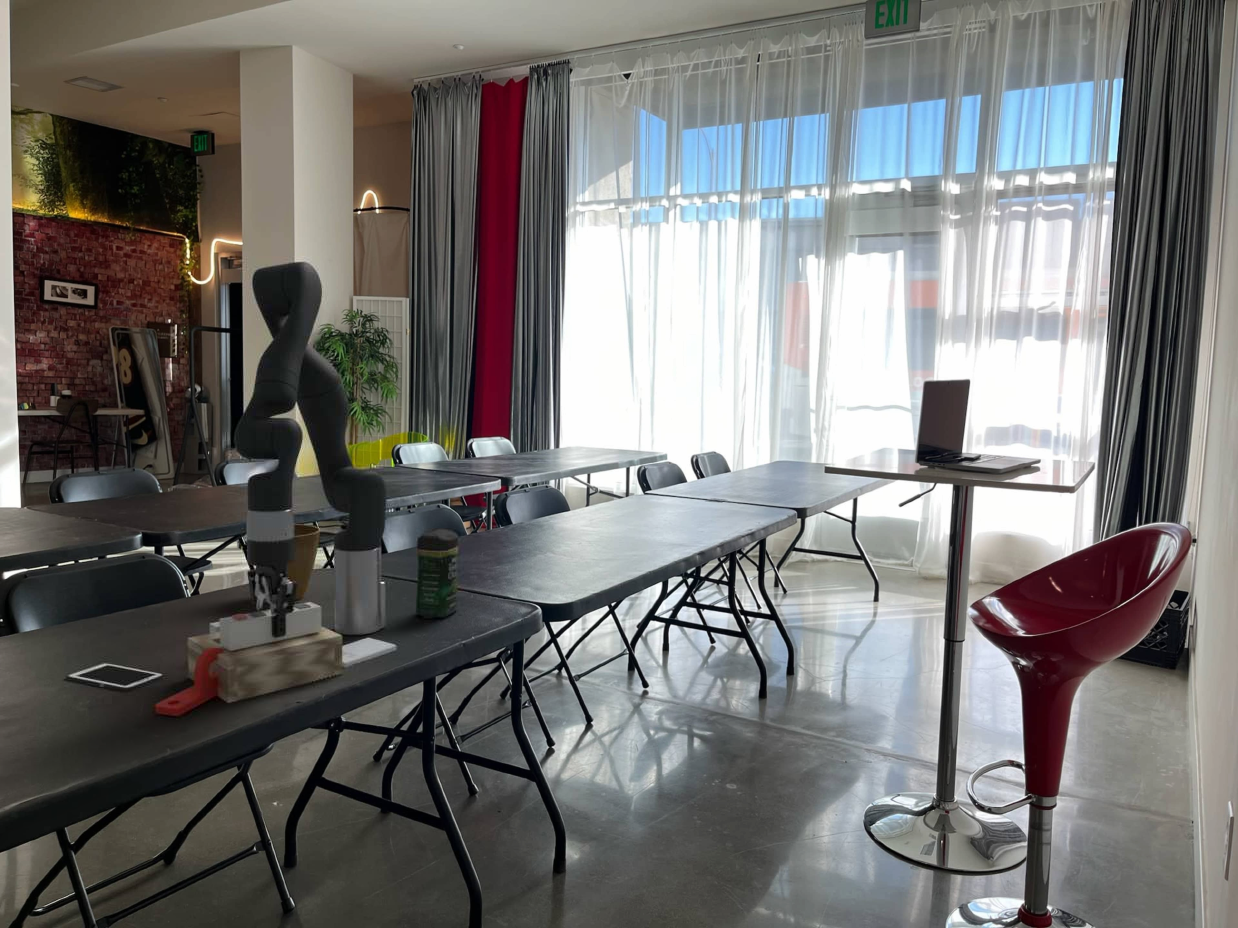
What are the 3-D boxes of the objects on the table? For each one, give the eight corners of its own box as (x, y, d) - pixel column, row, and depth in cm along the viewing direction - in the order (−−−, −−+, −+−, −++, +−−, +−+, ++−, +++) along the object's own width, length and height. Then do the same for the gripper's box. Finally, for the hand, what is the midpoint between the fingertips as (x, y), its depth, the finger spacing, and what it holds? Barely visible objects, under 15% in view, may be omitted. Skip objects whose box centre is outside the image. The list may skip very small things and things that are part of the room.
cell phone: (104, 667, 157) (104, 661, 157) (166, 679, 152) (166, 673, 152) (63, 680, 150) (63, 675, 150) (127, 694, 145) (127, 688, 144)
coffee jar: (444, 620, 190) (444, 535, 188) (410, 617, 191) (410, 533, 190) (463, 609, 199) (463, 528, 197) (431, 606, 201) (431, 525, 199)
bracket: (204, 686, 147) (203, 640, 147) (228, 689, 146) (227, 642, 146) (152, 712, 136) (150, 663, 135) (178, 716, 135) (176, 665, 134)
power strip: (310, 647, 159) (310, 599, 158) (321, 653, 156) (321, 603, 155) (220, 668, 147) (219, 615, 146) (230, 674, 144) (229, 620, 143)
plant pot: (240, 597, 204) (239, 529, 203) (299, 586, 216) (299, 521, 214) (273, 609, 195) (271, 538, 193) (333, 597, 206) (332, 530, 204)
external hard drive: (396, 652, 169) (345, 670, 159) (367, 644, 174) (315, 661, 163) (396, 644, 169) (345, 661, 159) (367, 636, 174) (315, 652, 163)
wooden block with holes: (298, 652, 166) (298, 616, 166) (342, 673, 155) (342, 635, 155) (188, 677, 152) (187, 637, 151) (228, 702, 141) (227, 660, 140)
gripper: (312, 538, 147) (313, 638, 149) (272, 526, 157) (274, 620, 159) (268, 544, 142) (270, 647, 144) (230, 531, 151) (232, 628, 153)
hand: (272, 632), depth 151 cm, fingers closed on power strip, 4 cm apart
